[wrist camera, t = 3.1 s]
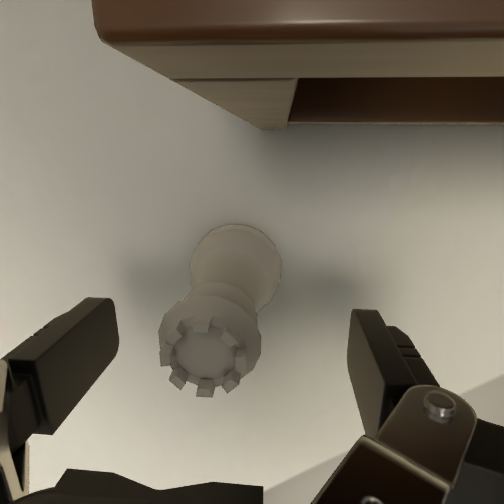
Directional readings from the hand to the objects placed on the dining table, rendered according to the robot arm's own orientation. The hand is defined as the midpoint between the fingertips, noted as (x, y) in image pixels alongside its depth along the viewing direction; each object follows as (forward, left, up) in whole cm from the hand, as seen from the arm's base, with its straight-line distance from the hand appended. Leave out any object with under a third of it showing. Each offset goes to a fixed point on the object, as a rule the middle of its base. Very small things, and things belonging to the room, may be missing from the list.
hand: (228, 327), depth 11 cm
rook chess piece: (-1, 0, -6) cm, 6 cm away
